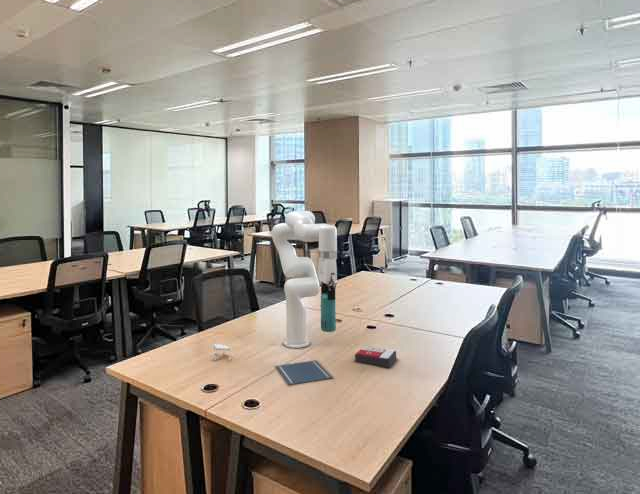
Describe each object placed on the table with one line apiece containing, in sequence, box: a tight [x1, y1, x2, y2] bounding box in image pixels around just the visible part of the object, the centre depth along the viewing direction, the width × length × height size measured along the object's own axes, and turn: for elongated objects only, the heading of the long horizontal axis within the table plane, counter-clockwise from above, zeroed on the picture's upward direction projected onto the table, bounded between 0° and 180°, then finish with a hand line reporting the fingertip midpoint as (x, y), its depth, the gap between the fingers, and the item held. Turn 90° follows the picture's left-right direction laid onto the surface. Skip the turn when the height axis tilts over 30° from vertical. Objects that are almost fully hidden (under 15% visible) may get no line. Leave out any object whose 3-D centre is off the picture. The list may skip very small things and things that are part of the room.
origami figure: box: [211, 343, 234, 362], centre depth 189 cm, size 12×8×5 cm
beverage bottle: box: [319, 284, 337, 333], centre depth 178 cm, size 6×7×20 cm
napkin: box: [275, 360, 333, 386], centre depth 174 cm, size 18×18×1 cm
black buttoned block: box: [354, 345, 397, 369], centre depth 186 cm, size 11×4×15 cm
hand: (328, 297), depth 178 cm, fingers closed on beverage bottle, 6 cm apart
